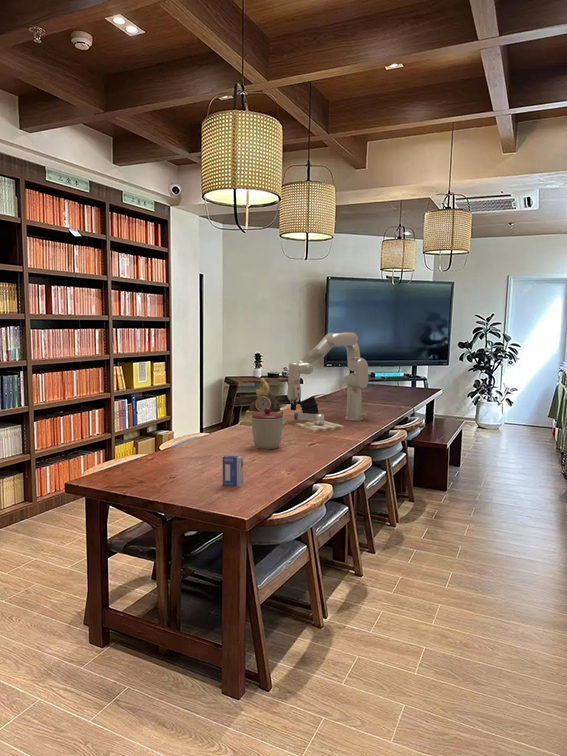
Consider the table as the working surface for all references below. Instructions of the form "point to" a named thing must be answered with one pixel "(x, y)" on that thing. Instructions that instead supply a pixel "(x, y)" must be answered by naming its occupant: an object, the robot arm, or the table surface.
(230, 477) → the walkman
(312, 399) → the black box
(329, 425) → the dial base
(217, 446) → the table surface
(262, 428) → the canister
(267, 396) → the decorative clock
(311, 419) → the capstan lever
